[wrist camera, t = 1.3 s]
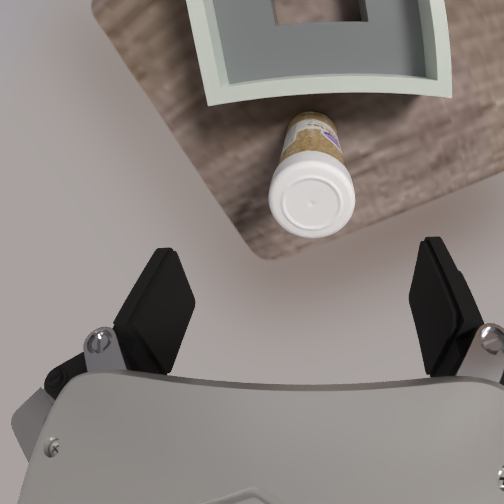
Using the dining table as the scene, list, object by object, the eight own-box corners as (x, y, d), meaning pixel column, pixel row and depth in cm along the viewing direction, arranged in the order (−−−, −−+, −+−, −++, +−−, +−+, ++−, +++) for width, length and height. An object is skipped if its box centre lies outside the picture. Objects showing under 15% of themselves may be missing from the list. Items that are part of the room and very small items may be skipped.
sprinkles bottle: (345, 126, 24) (374, 193, 14) (320, 165, 27) (325, 254, 17) (300, 100, 24) (294, 145, 13) (277, 142, 27) (252, 217, 16)
